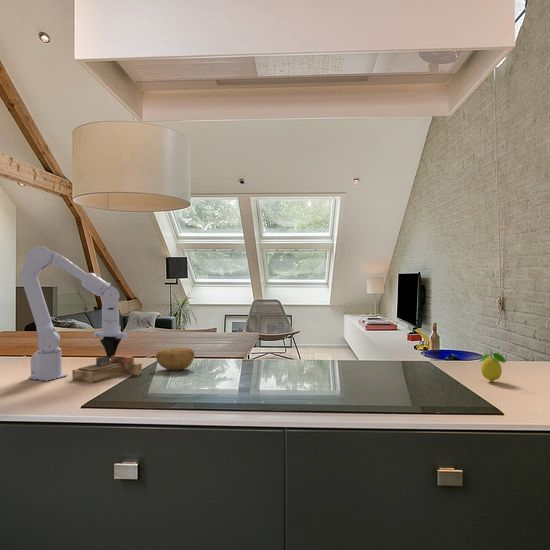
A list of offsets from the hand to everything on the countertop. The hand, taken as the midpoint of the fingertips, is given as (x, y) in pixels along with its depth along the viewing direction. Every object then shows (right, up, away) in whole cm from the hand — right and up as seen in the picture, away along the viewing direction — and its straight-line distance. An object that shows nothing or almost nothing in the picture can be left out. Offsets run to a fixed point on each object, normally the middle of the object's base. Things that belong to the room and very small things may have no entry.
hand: (111, 358), depth 147 cm
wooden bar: (+5, -1, -2) cm, 6 cm away
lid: (0, -2, -7) cm, 7 cm away
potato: (+23, -5, +1) cm, 23 cm away
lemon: (+125, -3, -21) cm, 127 cm away
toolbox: (+2, -5, -8) cm, 9 cm away
